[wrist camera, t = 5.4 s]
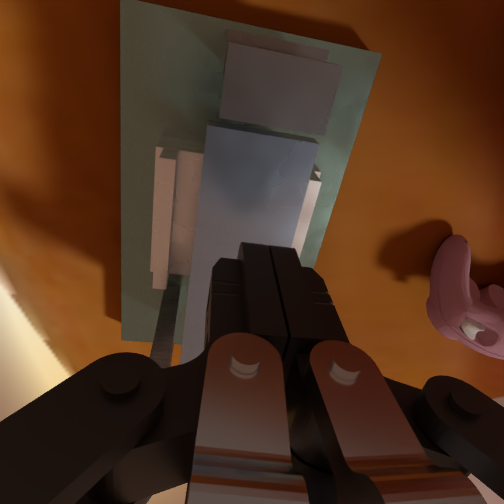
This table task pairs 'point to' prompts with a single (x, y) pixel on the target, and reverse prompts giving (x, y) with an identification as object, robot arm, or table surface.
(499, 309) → the video game controller
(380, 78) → the table surface
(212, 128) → the flat rectangular panel
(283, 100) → the grey stand with posts
